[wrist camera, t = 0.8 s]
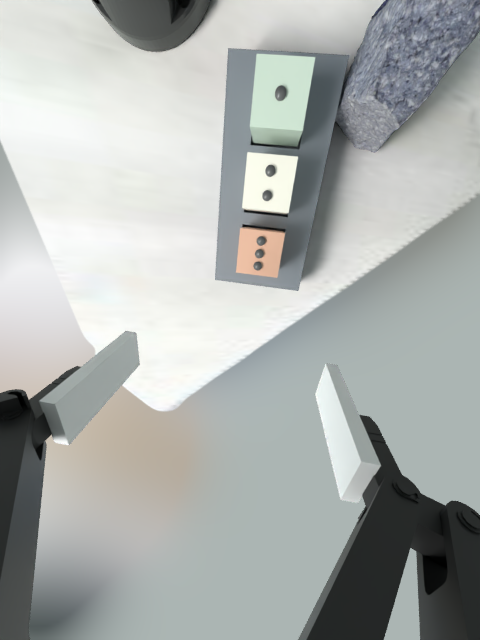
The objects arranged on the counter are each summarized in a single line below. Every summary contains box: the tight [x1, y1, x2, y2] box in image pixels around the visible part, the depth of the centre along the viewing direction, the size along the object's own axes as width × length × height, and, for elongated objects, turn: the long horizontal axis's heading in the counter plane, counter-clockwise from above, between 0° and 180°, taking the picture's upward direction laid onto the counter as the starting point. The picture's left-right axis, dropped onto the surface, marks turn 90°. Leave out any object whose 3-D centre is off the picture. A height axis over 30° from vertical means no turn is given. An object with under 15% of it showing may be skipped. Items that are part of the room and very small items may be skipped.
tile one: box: [250, 54, 315, 147], centre depth 23 cm, size 5×5×5 cm
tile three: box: [236, 227, 285, 278], centre depth 28 cm, size 5×5×5 cm
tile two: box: [242, 152, 298, 214], centre depth 25 cm, size 5×5×5 cm
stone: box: [335, 0, 480, 152], centre depth 23 cm, size 12×10×10 cm
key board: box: [215, 48, 349, 291], centre depth 30 cm, size 24×12×4 cm, turn 174°
